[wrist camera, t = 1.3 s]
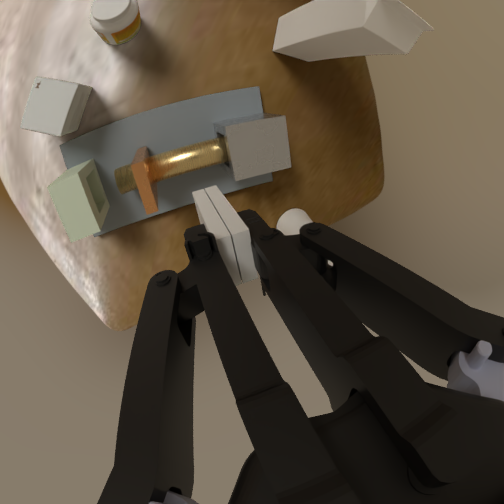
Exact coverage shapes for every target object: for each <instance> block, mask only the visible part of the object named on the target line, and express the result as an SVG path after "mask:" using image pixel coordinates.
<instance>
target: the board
mask: <svg viewBox="0 0 504 504" xmlns="http://www.w3.org/2000/svg"><path fill="white" fill-rule="evenodd" d="M258 113H263V109H262V102H261V96H260V90H259V86H258V87H251V88H244V89H238V90H232V91H226V92H220V93H215V94H210V95H206V96H201V97H196V98H192V99H188V100H184V101H180V102H176V103H172V104H169V105H165V106H161V107H158V108H155V109H151V110H148V111H145V112H142V113H139V114H136V115H133V116H130V117H127V118H124V119H121V120H118V121H116V122H113V123H110V124H108V125H105V126H103V127H100V128H98V129H95V130H93V131H91V132H88V133H86V134H84V135H81V136H79V137H77V138H75V139H72V140H70V141H68V142H66V143H64V144H62V145H60V148H61V151H62V155H63V158H64V161H65V164H66V167H67V170H68V169H70V168H72V167H74V166H76V165H79V164H81V163H83V162H86V161H88V160H90V159H94V162H95V165H96V168H97V171H98V174H99V177H100V180H101V183H102V186H103V189H104V192H105V194H106V197H107V200H108V202H109V205H110V207H109V209H108V212H107V215H106V217H105V220H104V223H103V226H102V229H101V231H100V232H97V233H95V234H93V235H94V237H96V236H99V235H101V234H104V233H107V232H109V231H112V230H115V229H118V228H120V227H123V226H126V225H129V224H131V223H134V222H137V221H140V220H143V219H146V218H149V217H152V216H155V215H158V214H161V213H164V212H167V211H170V210H173V209H176V208H179V207H182V206H185V205H189V204H192V203H195V202H194V198H193V194H192V192H194V191H198V190H201V189H204V190H205V188H208V187H211V186H215V185H216V186H217V187H218V189H219V190H220V191H221V193H222V194H225V193H229V192H233V191H236V190H240V189H243V188H247V187H251V186H255V185H258V184H262V183H266V182H270V181H273V178H272V172H270V173H266V174H262V175H258V176H254V177H250V178H246V179H242V180H239V181H235V180H234V179H233V178H231V177H230V176H229V175H228V174H227V173H226V172H225V171H224V170H223V169H222V168H221V164H217V165H213V166H210V167H206V168H202V169H199V170H195V171H192V172H188V173H185V174H182V175H178V176H175V177H172V178H169V179H166V180H163V181H159V182H157V193H158V211H157V212H154V213H151V214H148V215H147V214H146V211H145V208H144V205H143V202H142V199H141V196H140V193H139V190H138V189H136V190H133V191H130V192H127V193H125V194H121V193H120V192H119V190H118V187H117V184H116V181H115V176H114V169H116V168H119V167H122V166H124V165H127V164H130V163H132V161H133V158H134V156H135V154H136V151H137V149H139V148H142V147H145V146H147V149H148V153H149V157H151V156H154V155H157V154H160V153H163V152H166V151H170V150H173V149H176V148H180V147H183V146H187V145H190V144H194V143H198V142H202V141H206V140H210V139H214V138H215V133H214V128H213V122H217V121H222V120H226V119H231V118H236V117H241V116H247V115H252V114H258Z"/></svg>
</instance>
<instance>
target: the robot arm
mask: <svg viewBox="0 0 504 504" xmlns="http://www.w3.org/2000/svg"><path fill="white" fill-rule="evenodd" d="M192 194H193V198H194V202H195V205H196V209H197V213H198V216H199V220H200V224H201V225H198V226H194V227H191V228H188V229H186V231H185V233H184V237H185V248H186V251H187V254H188V257H189V260H190V263H189V265H188V266H187V267H186V268H185V269H184V270H183V271H181V272H180V273H178V274H177V273H176V272H175V271H172V270H165V271H161V272H159V273H157V274H155V275H154V276H153V277H152V278H151V279H150V281H149V283H148V286H147V290H146V294H145V297H144V301H143V305H142V308H141V312H140V316H139V320H138V324H137V329H136V333H135V337H134V341H133V346H132V350H131V355H130V360H129V365H128V370H127V375H126V380H125V386H124V391H123V398H122V404H121V410H120V417H119V425H118V432H117V441H116V450H115V462H114V467H113V469H112V471H111V474H110V476H109V478H108V480H107V483H106V485H105V487H104V489H103V492H102V494H101V496H100V499H99V501H98V503H97V504H198V503H197V502H196V501H194V500H192V499H191V496H192V490H193V483H194V461H193V460H194V458H193V379H194V378H193V377H194V349H195V348H194V347H195V327H196V319H195V316H196V315H198V314H199V313H201V312H203V311H204V310H205V313H206V316H207V319H208V322H209V325H210V329H211V331H212V335H213V337H214V340H215V344H216V346H217V349H218V352H219V355H220V358H221V361H222V364H223V367H224V369H225V372H226V375H227V378H228V380H229V383H230V386H231V388H232V391H233V394H234V396H235V399H236V404H237V407H238V410H239V412H240V415H241V418H242V420H243V422H244V425H245V427H246V430H247V432H248V435H249V437H250V439H251V442H252V444H253V447H254V449H255V450H254V451H253V452H252V453H251V454H250V455H249V457H248V458H247V460H246V461H245V463H244V465H243V467H242V469H241V472H240V474H239V477H238V479H237V482H236V485H235V487H234V490H233V492H232V495H231V498H230V500H229V503H228V504H504V318H503V317H500V316H497V315H494V314H491V313H488V312H484V311H481V310H478V309H475V308H472V307H470V306H468V305H466V304H465V303H463V302H462V301H460V300H459V299H457V298H455V297H454V296H452V295H450V294H449V293H447V292H446V291H444V290H442V289H441V288H439V287H437V286H436V285H434V284H432V283H431V282H429V281H427V280H426V279H424V278H422V277H420V276H419V275H417V274H415V273H414V272H412V271H410V270H408V269H407V268H405V267H403V266H401V265H400V264H398V263H396V262H394V261H392V260H391V259H389V258H387V257H385V256H383V255H382V254H380V253H378V252H376V251H374V250H372V249H370V248H369V247H367V246H365V245H363V244H361V243H359V242H357V241H355V240H353V239H351V238H349V237H348V236H345V235H344V234H342V233H340V232H338V231H336V230H334V229H332V228H330V227H328V226H326V225H324V224H321V223H315V222H312V223H308V224H305V225H303V226H302V227H301V228H300V230H299V233H300V234H296V235H284V234H283V233H282V232H281V231H280V230H278V229H275V228H270V227H269V226H268V225H267V224H266V223H265V221H264V220H262V218H261V217H260V216H259V215H258V214H257V213H256V212H255V211H253V210H250V209H248V210H244V211H241V212H238V213H236V211H235V210H234V209H233V207H232V206H231V205H230V203H229V202H228V201H227V199H226V198H225V197H224V195H223V194H222V193H221V191H220V190H219V189H218V187H217V186H216V185H215V186H211V187H208V188H205V190H204V189H201V190H198V191H194V192H192ZM328 260H329V261H331V262H332V263H333V266H331V265H329V264H328ZM257 271H258V273H259V275H260V279H261V284H262V290H263V295H264V296H265V295H266V293H265V291H266V292H267V294H268V296H269V298H270V299H271V301H272V303H273V304H274V306H275V308H276V309H277V311H278V312H279V314H280V316H281V318H282V319H283V321H284V323H285V325H286V326H287V328H288V329H289V331H290V333H291V334H292V336H293V338H294V340H295V341H296V343H297V344H298V346H299V348H300V350H301V351H302V353H303V355H304V356H305V358H306V360H307V361H308V363H309V365H310V366H311V368H312V370H313V371H314V373H315V374H316V376H317V378H318V380H319V381H320V382H321V384H322V386H323V388H324V389H325V391H326V393H327V395H328V397H329V399H330V403H331V407H332V409H333V412H332V413H328V414H324V415H320V416H315V417H310V418H308V417H307V415H306V413H305V412H304V410H303V408H302V406H301V404H300V403H299V401H298V399H297V397H296V395H295V393H294V392H293V390H292V388H291V387H290V385H289V384H288V383H287V382H285V381H284V380H283V379H282V377H281V375H280V373H279V371H278V369H277V367H276V366H275V363H274V362H273V360H272V358H271V356H270V354H269V352H268V350H267V348H266V346H265V344H264V342H263V341H262V338H261V336H260V334H259V332H258V330H257V328H256V326H255V324H254V322H253V321H252V319H251V316H250V315H249V312H248V310H247V308H246V306H245V304H244V302H243V300H242V299H241V296H240V294H239V292H238V290H237V288H236V286H237V285H239V284H242V283H241V280H242V282H243V283H245V282H248V281H251V280H254V279H257V278H258V276H257ZM362 323H363V324H364V325H366V326H367V327H368V328H370V329H371V330H372V331H374V332H375V333H377V334H378V335H379V337H374V336H373V335H372V334H371V333H370V332H369V331H368V330H367V329H366V327H365V326H364V325H363V324H362ZM400 351H401V352H402V353H403V354H405V355H406V356H407V357H409V358H410V359H411V360H413V361H414V362H415V363H417V364H418V365H419V366H421V367H422V368H424V369H425V370H427V371H428V372H430V373H431V374H433V375H435V376H437V377H439V378H441V379H445V380H447V381H448V384H447V388H445V387H441V386H438V385H434V384H430V383H427V382H424V380H423V379H422V378H421V377H420V375H419V374H418V373H417V372H416V370H415V369H414V368H413V367H412V366H411V364H410V363H409V362H408V361H407V360H406V358H405V357H404V356H403V355H402V354H401V352H400Z"/></svg>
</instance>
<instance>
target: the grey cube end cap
mask: <svg viewBox="0 0 504 504" xmlns="http://www.w3.org/2000/svg"><path fill="white" fill-rule="evenodd" d="M213 128H214V133H215V138H218V137H222V136H224V138H225V143H226V148H227V153H228V159H229V162H225V163H221V168H222V169H223V170H224V171H225V172H226V173H227V174H228V175H229V176H230V177H231V178H233V179H234V180H235V181H239V180H242V179H246V178H250V177H254V176H258V175H262V174H266V173H270V172H274V171H278V170H283V169H287V168H291V159H290V150H289V142H288V134H287V125H286V118H285V116H284V115H277V114H270V113H258V114H252V115H247V116H241V117H236V118H231V119H226V120H222V121H217V122H213Z"/></svg>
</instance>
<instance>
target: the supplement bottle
mask: <svg viewBox="0 0 504 504" xmlns="http://www.w3.org/2000/svg"><path fill="white" fill-rule="evenodd" d="M90 23H91V26H92V27H93V29H94V30H95V31H96V32H97V34H98V35H99V36H100V37H101V38H102V40H103V41H105V42H106V43H108V44H112V45H119V44H123V43H126V42H128V41H129V40H131V39H132V38H133V37H134V36H135V35H136V34H137V33H138V31H139V29H140V26H141V18H140V13H139V6H138V2H137V0H94V1H93V3H92V6H91V14H90Z"/></svg>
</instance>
